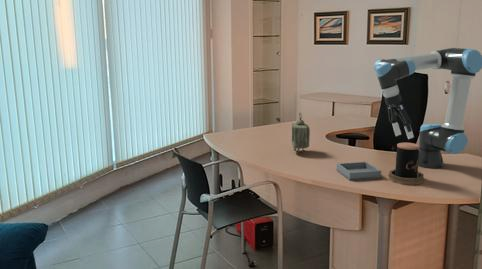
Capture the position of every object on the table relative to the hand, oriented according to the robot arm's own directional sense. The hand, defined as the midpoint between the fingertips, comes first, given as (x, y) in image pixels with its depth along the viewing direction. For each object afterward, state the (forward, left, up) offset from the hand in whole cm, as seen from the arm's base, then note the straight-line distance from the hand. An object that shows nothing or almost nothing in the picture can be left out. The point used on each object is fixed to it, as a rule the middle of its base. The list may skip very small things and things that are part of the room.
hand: (404, 136), depth 232 cm
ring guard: (-5, -5, -24) cm, 25 cm away
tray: (+15, -18, -24) cm, 33 cm away
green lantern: (+31, -66, -24) cm, 76 cm away
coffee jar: (-5, -5, -24) cm, 25 cm away
